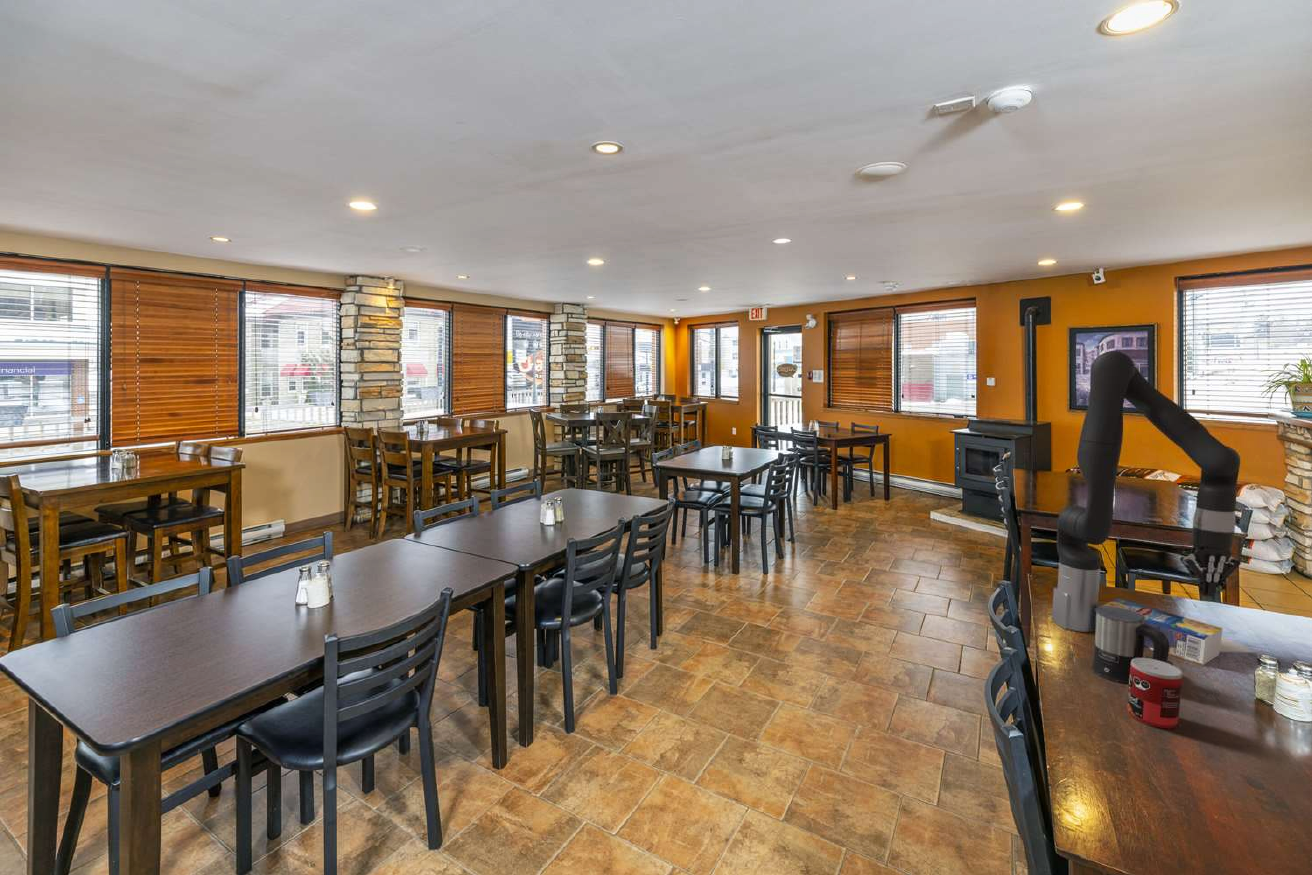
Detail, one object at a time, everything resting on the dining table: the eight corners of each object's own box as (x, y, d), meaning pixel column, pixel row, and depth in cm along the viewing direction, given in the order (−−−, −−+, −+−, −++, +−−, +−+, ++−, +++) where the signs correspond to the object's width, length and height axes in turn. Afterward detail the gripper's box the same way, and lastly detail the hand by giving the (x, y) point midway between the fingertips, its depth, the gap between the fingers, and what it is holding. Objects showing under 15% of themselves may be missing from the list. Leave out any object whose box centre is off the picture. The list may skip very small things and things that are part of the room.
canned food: (1125, 703, 126) (1129, 653, 125) (1174, 715, 121) (1179, 664, 120) (1128, 720, 120) (1132, 668, 118) (1180, 734, 115) (1185, 680, 114)
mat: (1152, 650, 150) (1152, 649, 150) (1099, 618, 170) (1099, 617, 170) (1254, 653, 149) (1254, 651, 149) (1188, 620, 168) (1188, 619, 168)
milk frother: (1086, 674, 138) (1091, 612, 137) (1099, 652, 150) (1103, 594, 148) (1167, 697, 128) (1173, 631, 127) (1173, 671, 140) (1179, 610, 138)
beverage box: (1222, 628, 147) (1118, 598, 166) (1205, 638, 142) (1099, 606, 160) (1219, 654, 148) (1115, 621, 167) (1202, 665, 142) (1096, 630, 161)
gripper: (1197, 530, 143) (1191, 600, 145) (1256, 531, 143) (1248, 601, 144) (1172, 522, 151) (1166, 589, 153) (1228, 523, 150) (1221, 590, 152)
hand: (1206, 595), depth 148 cm, fingers closed
